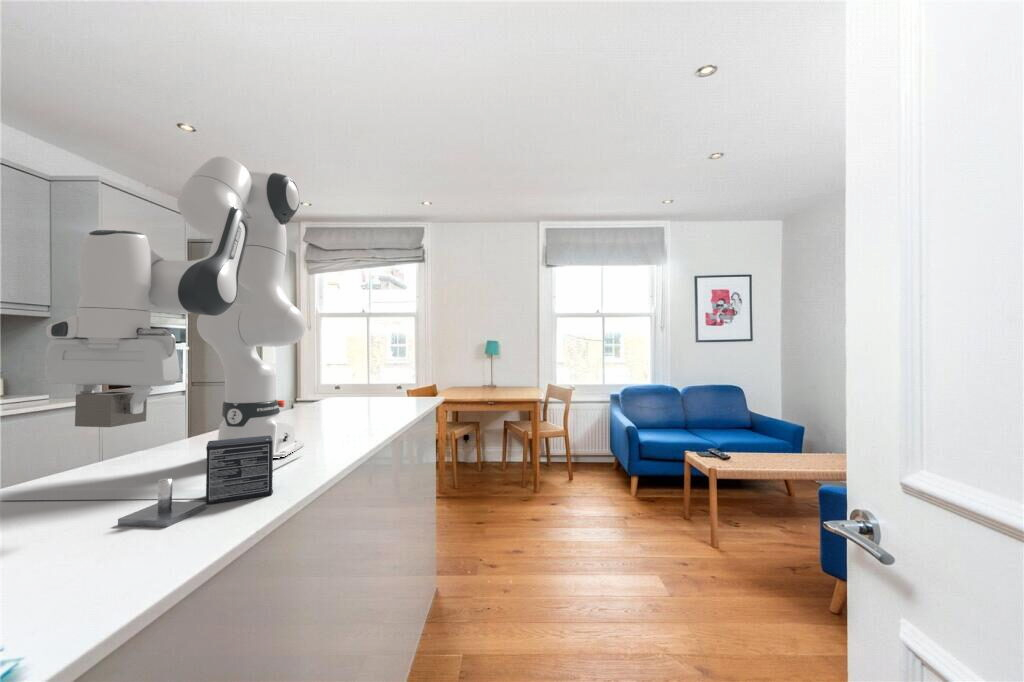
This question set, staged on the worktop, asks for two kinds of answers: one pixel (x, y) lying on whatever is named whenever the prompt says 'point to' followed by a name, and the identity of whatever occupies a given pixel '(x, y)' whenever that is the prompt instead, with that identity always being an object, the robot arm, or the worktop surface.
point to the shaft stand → (163, 509)
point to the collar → (105, 409)
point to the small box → (239, 469)
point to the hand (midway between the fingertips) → (112, 412)
